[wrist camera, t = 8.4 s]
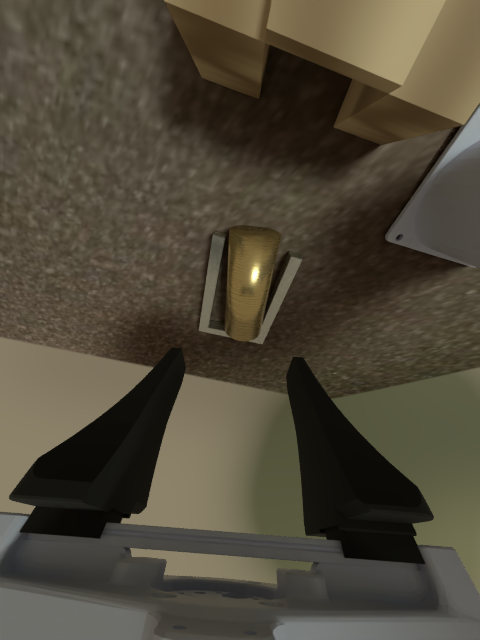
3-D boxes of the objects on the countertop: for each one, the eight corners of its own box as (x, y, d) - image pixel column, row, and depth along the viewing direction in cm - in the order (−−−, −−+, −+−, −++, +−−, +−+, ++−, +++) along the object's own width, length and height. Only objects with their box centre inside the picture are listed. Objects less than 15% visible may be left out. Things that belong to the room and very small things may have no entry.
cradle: (298, 254, 17) (302, 259, 16) (261, 336, 23) (262, 344, 22) (215, 230, 16) (212, 234, 15) (201, 323, 22) (198, 330, 21)
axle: (222, 225, 15) (241, 239, 12) (265, 225, 16) (291, 238, 13) (219, 320, 21) (232, 345, 18) (251, 315, 22) (266, 336, 20)
